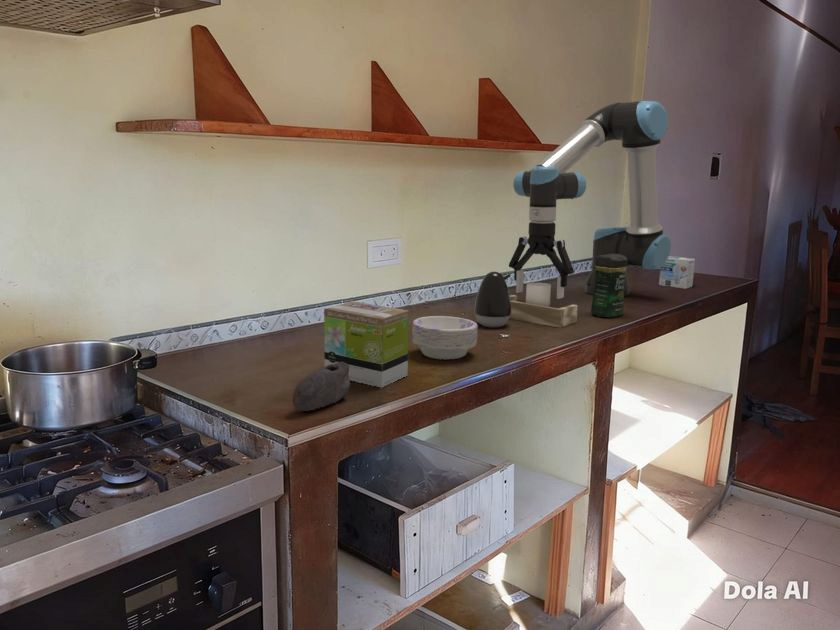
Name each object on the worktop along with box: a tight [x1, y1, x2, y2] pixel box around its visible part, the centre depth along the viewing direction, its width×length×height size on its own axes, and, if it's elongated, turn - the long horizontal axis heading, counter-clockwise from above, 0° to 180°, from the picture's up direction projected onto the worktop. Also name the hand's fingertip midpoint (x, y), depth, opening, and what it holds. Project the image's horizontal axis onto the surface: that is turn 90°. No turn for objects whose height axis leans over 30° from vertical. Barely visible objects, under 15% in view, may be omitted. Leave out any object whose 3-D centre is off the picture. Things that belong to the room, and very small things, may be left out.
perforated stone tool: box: [292, 362, 351, 412], centre depth 129 cm, size 15×5×7 cm, turn 146°
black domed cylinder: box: [473, 271, 511, 329], centre depth 194 cm, size 10×10×15 cm
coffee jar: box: [590, 254, 628, 318], centre depth 210 cm, size 10×8×19 cm
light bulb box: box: [658, 255, 696, 290], centre depth 264 cm, size 11×7×11 cm, turn 49°
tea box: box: [323, 300, 410, 388], centre depth 145 cm, size 15×10×15 cm, turn 58°
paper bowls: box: [411, 315, 479, 361], centre depth 164 cm, size 15×15×8 cm
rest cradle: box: [509, 294, 578, 329], centre depth 204 cm, size 10×22×5 cm, turn 50°
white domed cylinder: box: [525, 282, 552, 307], centre depth 205 cm, size 7×7×10 cm
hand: (539, 295), depth 204 cm, fingers open, 13 cm apart
